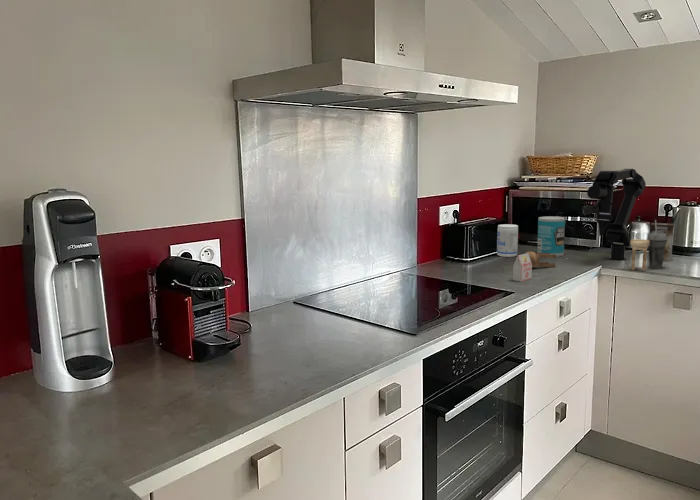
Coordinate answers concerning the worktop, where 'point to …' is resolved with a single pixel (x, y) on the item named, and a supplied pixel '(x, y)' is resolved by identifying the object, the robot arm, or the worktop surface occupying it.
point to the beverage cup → (656, 248)
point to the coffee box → (668, 232)
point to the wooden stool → (535, 257)
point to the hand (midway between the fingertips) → (600, 235)
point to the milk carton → (522, 268)
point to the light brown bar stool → (639, 245)
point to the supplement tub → (507, 240)
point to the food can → (551, 235)
